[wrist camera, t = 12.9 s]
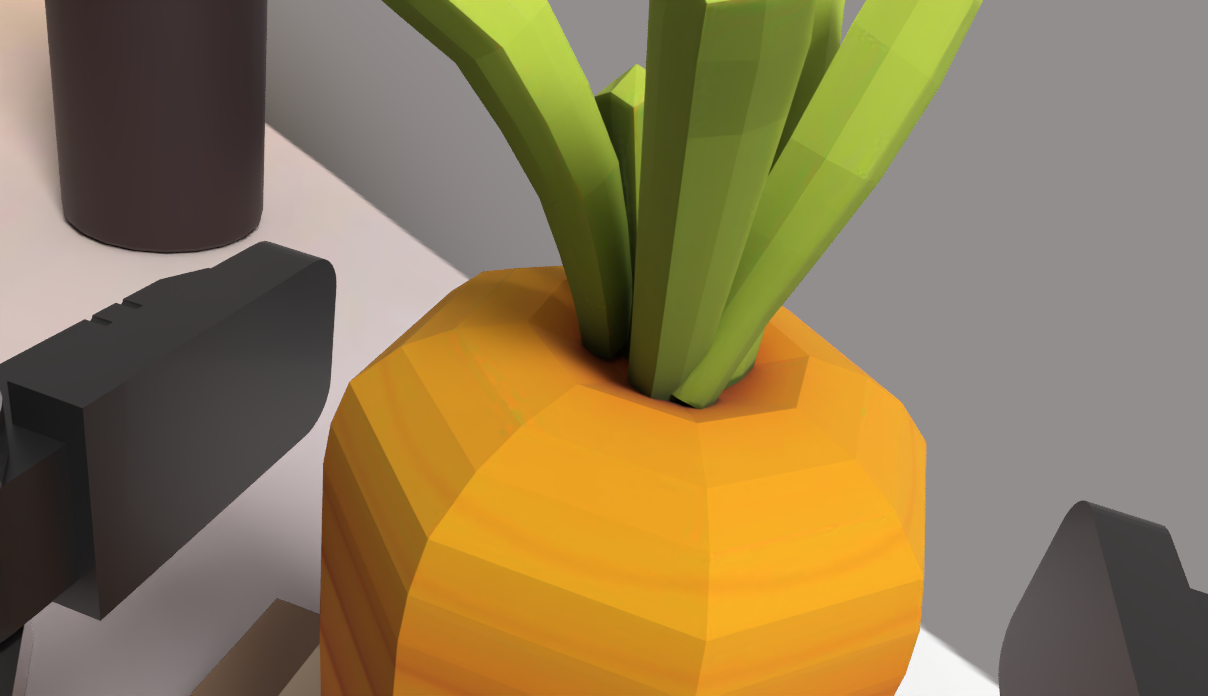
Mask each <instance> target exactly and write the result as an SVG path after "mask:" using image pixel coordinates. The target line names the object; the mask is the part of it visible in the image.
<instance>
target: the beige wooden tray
mask: <svg viewBox="0 0 1208 696" xmlns="http://www.w3.org/2000/svg"><path fill="white" fill-rule="evenodd" d="M190 696H321V678H320V614H317V613H315V612H312V611H309V610H307V609H304V608H302V607H299V606H296V605H294V604H291V603H289V602H286V601H283V600H281V599H278V598H277V599H276V600H275V601H274V602H273V603H272V605H271V606H270V607H269V608H268V609H267V610H266V611H265V612H264V613H263V615H262V616H261V617H260V618H259V619H258V620H257V621H256V622H255V623H254V625H253V626H252V627H251V628H250V629H249V630H248V631H247V632H246V633H245V635H244V636H243V637H242V638H241V639H240V640H239V641H238V642H237V643H236V645H235V646H234V647H233V648H232V649H231V650H230V651H229V652H228V653H227V655H226V656H225V657H224V658H223V659H222V660H221V661H220V662H219V663H218V665H217V666H216V667H215V668H214V669H213V670H212V671H211V672H210V674H209V675H208V676H207V677H206V678H205V679H204V680H203V681H202V682H201V684H200V685H199V686H198V687H197V688H196V689H195V690H194V691H193V692H192V694H191V695H190Z"/></svg>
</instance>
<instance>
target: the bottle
mask: <svg viewBox="0 0 1208 696" xmlns="http://www.w3.org/2000/svg"><path fill="white" fill-rule="evenodd" d="M45 8H46V19H47V31H48V43H49V55H50V66H51V78H52V90H53V102H54V114H55V125H56V137H57V149H58V161H59V172H60V184H61V196H62V204H63V209H64V213H65V216H66V218H67V220H68V221H69V222H70V223H71V224H73V225H74V226H75V227H76V228H77V229H78V230H79V231H81V232H82V233H84V234H85V235H87V236H90V237H92V238H94V239H97V240H99V241H102V242H104V243H106V244H110V245H115V246H119V247H124V248H128V249H133V250H141V251H153V252H188V251H199V250H205V249H210V248H216V247H221V246H224V245H227V244H229V243H232V242H234V241H237V240H239V239H242V238H243V237H245V236H246V235H247V234H249V233H250V232H251V231H252V230H253V229H255V228H256V227H257V226H258V225H259V222H260V219H261V215H262V211H263V186H264V137H265V88H266V86H265V85H266V40H267V38H266V37H267V0H45Z"/></svg>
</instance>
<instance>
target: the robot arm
mask: <svg viewBox="0 0 1208 696" xmlns="http://www.w3.org/2000/svg"><path fill="white" fill-rule="evenodd" d="M335 300H336V274H335V270H334V268H333V266H332V264H331V263H330V262H329V261H327V260H325V259H322V258H319V257H316V256H313V255H309V254H306V253H303V252H300V251H297V250H294V249H290V248H287V247H284V246H281V245H278V244H274V243H271V242H267V241H263V242H259V243H257V244H255V245H253V246H251V247H249V248H247V249H245V250H244V251H242V252H240V253H238V254H236V255H235V256H233V257H231V258H229V259H227V260H225V261H224V262H222V263H220V264H218V265H216V266H215V267H213V268H211V269H210V268H206V269H202V270H198V271H194V272H189V273H185V274H181V275H177V276H173V277H168V278H164V279H160V280H158V281H156V282H154V283H152V284H151V285H149V286H147V287H145V288H143V289H141V290H139V291H137V292H135V293H134V294H132V295H130V296H128V297H126V298H124V299H123V302H122V304H118V303H115V304H113V305H111V306H109V307H107V308H105V309H103V310H101V311H99V312H98V313H96V314H94V315H93V316H92V319H91V321H88V320H85V319H84V320H82V321H81V322H79V323H77V324H75V325H73V326H71V327H69V328H67V329H65V330H63V331H62V332H60V333H58V334H56V335H54V336H52V337H50V338H48V339H46V340H45V341H43V342H41V343H39V344H37V345H35V346H33V347H31V348H29V349H28V350H26V351H24V352H22V353H20V354H18V355H16V356H14V357H12V358H10V359H9V360H7V361H5V362H3V363H1V364H0V696H25V691H26V685H27V679H28V672H29V666H30V660H31V653H32V647H33V630H32V623H31V619H32V618H33V617H34V616H35V615H37V614H38V613H39V612H40V611H41V610H43V609H44V608H45V607H46V606H47V605H49V604H50V603H51V602H52V601H53V602H55V603H58V604H60V605H63V606H65V607H68V608H70V609H73V610H75V611H78V612H80V613H83V614H85V615H88V616H90V617H93V618H95V619H97V620H100V621H101V620H102V619H103V618H104V617H105V616H106V615H107V614H109V613H110V612H111V611H112V610H113V609H114V608H115V607H116V606H117V605H118V604H120V603H121V602H122V601H123V600H124V599H125V598H126V597H127V596H128V595H130V594H131V593H132V592H133V591H134V590H135V589H136V588H137V587H138V586H140V585H141V584H142V583H143V582H144V581H145V580H146V579H147V578H148V577H150V576H151V575H152V574H153V573H154V572H155V571H156V570H157V569H158V568H159V567H161V566H162V565H163V564H164V563H165V562H166V561H167V560H168V559H169V558H171V557H172V556H173V555H174V554H175V553H176V552H177V551H178V550H179V549H181V548H182V547H183V546H184V545H185V544H186V543H187V542H188V541H189V540H191V539H192V538H193V537H194V536H195V535H196V534H197V533H198V532H199V531H200V530H202V529H203V528H204V527H205V526H206V525H207V524H208V523H209V522H210V521H212V520H213V519H214V518H215V517H216V516H217V515H218V514H219V513H220V512H222V511H223V510H224V509H225V508H226V507H227V506H228V505H229V504H230V503H232V502H233V501H234V500H235V499H236V498H237V497H238V496H239V495H240V494H241V493H243V492H244V491H245V490H246V489H247V488H248V487H249V486H250V485H251V484H253V483H254V482H255V481H256V480H257V479H258V478H259V477H260V476H261V475H263V474H264V473H265V472H266V471H267V470H268V469H269V468H270V467H271V466H273V465H274V464H275V463H276V462H277V461H278V460H279V459H280V458H281V457H282V456H284V455H285V454H286V453H287V452H288V451H289V450H290V449H291V448H292V447H294V446H295V445H296V444H297V443H298V442H299V441H300V440H301V439H302V438H304V437H305V436H306V435H307V434H308V433H309V432H310V430H311V429H312V428H313V426H314V425H315V423H316V422H317V420H318V418H319V417H320V415H321V413H322V410H323V408H324V406H325V403H326V400H327V396H328V393H329V388H330V380H331V365H332V349H333V333H334V316H335ZM999 689H1000V696H1208V594H1206V593H1203V592H1200V591H1197V590H1194V589H1191V588H1190V587H1189V584H1188V581H1187V579H1186V576H1185V573H1184V570H1183V568H1182V565H1181V562H1180V560H1179V557H1178V554H1177V551H1176V549H1175V546H1174V543H1173V540H1172V538H1171V535H1170V533H1169V531H1168V530H1167V529H1166V527H1165V526H1163V525H1160V524H1157V523H1154V522H1151V521H1148V520H1144V519H1141V518H1138V517H1135V516H1132V515H1128V514H1125V513H1122V512H1119V511H1116V510H1113V509H1110V508H1106V507H1103V506H1100V505H1097V504H1094V503H1090V502H1087V501H1079V502H1077V503H1076V504H1075V505H1074V506H1073V507H1072V508H1071V509H1070V510H1069V512H1068V513H1067V514H1066V516H1065V518H1064V520H1063V521H1062V523H1061V525H1060V527H1059V529H1058V531H1057V533H1056V535H1055V536H1054V538H1053V540H1052V542H1051V544H1050V546H1049V548H1048V550H1047V552H1046V553H1045V555H1044V557H1043V559H1042V561H1041V563H1040V565H1039V567H1038V569H1037V570H1036V572H1035V574H1034V576H1033V578H1032V580H1031V582H1030V584H1029V586H1028V587H1027V589H1026V591H1025V593H1024V595H1023V597H1022V599H1021V601H1020V603H1019V605H1018V606H1017V608H1016V610H1015V612H1014V614H1013V616H1012V618H1011V620H1010V623H1009V626H1008V628H1007V631H1006V634H1005V638H1004V642H1003V645H1002V650H1001V655H1000V662H999Z"/></svg>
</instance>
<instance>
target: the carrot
mask: <svg viewBox="0 0 1208 696" xmlns="http://www.w3.org/2000/svg"><path fill="white" fill-rule="evenodd" d="M382 1H383V2H384V3H385V4H386V5H388V6H389V7H390V8H391V9H392V10H393V11H394V12H396V13H397V14H398V15H399V16H400V17H402V18H403V19H404V20H405V21H406V22H407V23H409V24H410V25H411V26H412V27H414V28H415V29H416V30H417V31H418V32H419V33H421V34H422V35H423V36H424V37H425V38H426V39H428V40H429V41H430V42H431V43H433V44H434V45H435V46H436V47H437V48H438V49H440V50H441V51H442V52H443V53H444V54H446V55H447V56H448V57H449V58H450V59H451V60H453V61H454V62H455V63H456V64H457V66H458V67H459V69H460V70H461V72H462V73H463V75H464V76H465V78H466V79H467V81H468V82H469V84H470V85H471V87H472V88H473V90H474V91H475V93H476V94H477V95H478V97H479V98H480V100H481V101H482V103H483V104H484V106H485V107H486V109H487V110H488V112H489V113H490V115H491V116H492V118H493V119H494V121H495V122H496V124H497V125H498V127H499V128H500V130H501V131H502V133H503V135H504V137H505V138H506V140H507V142H508V143H509V145H510V147H511V149H512V151H513V152H514V154H515V156H516V158H517V159H518V161H519V163H520V165H521V166H522V168H523V170H524V172H525V173H526V175H527V177H528V179H529V181H530V182H531V184H532V186H533V187H534V189H535V191H536V193H537V194H538V196H539V198H540V201H541V204H542V206H543V209H544V212H545V215H546V218H547V220H548V223H549V226H550V229H551V231H552V234H553V237H554V240H555V242H556V245H557V248H558V251H559V254H560V257H561V260H562V264H563V266H549V267H533V268H514V269H505V270H494V271H485V272H482V273H480V274H478V275H477V276H475V277H474V278H472V279H470V280H469V281H467V282H466V283H464V284H462V285H461V286H459V287H458V288H456V289H454V290H453V291H451V292H450V293H449V294H448V295H447V296H446V297H444V298H443V299H442V300H441V301H440V302H439V303H438V304H437V305H435V306H434V307H433V308H432V309H431V310H430V311H429V312H428V313H426V314H425V315H424V316H423V317H422V318H421V319H420V320H419V321H417V322H416V323H415V324H414V325H413V326H412V327H411V328H410V329H408V330H407V331H406V332H405V333H404V334H403V335H402V336H401V337H399V338H398V339H397V340H396V341H395V342H394V343H393V344H392V345H391V346H389V347H388V348H387V349H386V350H385V351H384V352H383V353H382V354H380V355H379V356H378V357H377V358H376V359H375V360H374V361H373V362H371V363H370V364H369V365H368V366H367V367H366V368H365V369H364V370H362V371H361V372H360V373H359V374H358V375H357V376H356V377H355V378H353V379H352V380H351V381H350V382H349V384H348V386H347V389H346V391H345V393H344V395H343V398H342V400H341V402H340V404H339V407H338V409H337V411H336V413H335V415H334V418H333V420H332V422H331V426H330V431H329V436H328V442H327V447H326V452H325V458H324V463H323V500H322V546H321V592H320V678H321V696H894V695H895V693H896V691H897V689H898V687H899V685H900V683H901V681H902V679H903V678H904V676H905V674H906V671H907V668H908V665H909V662H910V659H911V656H912V653H913V650H914V647H915V643H916V640H917V637H918V634H919V631H920V622H921V609H922V596H923V585H924V549H925V544H924V543H925V490H926V441H925V440H924V438H923V437H922V435H921V433H920V432H919V430H918V429H917V427H916V425H915V423H914V422H913V420H912V419H911V417H910V415H909V414H908V412H907V410H906V409H905V407H904V405H903V404H902V402H900V401H899V400H898V399H897V398H896V397H894V396H893V395H892V394H891V393H889V392H888V391H887V390H886V389H885V388H883V387H882V386H881V385H880V384H878V383H877V382H876V381H875V380H873V379H872V378H871V377H870V376H869V375H867V374H866V373H865V372H864V371H862V370H861V369H860V368H859V367H858V366H856V365H855V364H854V363H853V362H851V361H850V360H849V359H848V358H847V357H845V356H844V355H843V354H842V353H841V352H839V351H838V350H837V349H836V348H834V347H833V346H832V345H831V344H829V343H828V342H827V341H826V340H825V339H823V338H822V337H821V336H820V335H818V334H817V333H816V332H815V331H814V330H812V329H811V328H810V327H809V326H807V325H806V324H805V323H804V322H803V321H801V320H800V319H799V318H798V317H796V316H795V315H794V314H793V313H791V312H790V311H789V310H787V309H786V308H784V307H783V306H782V305H783V303H784V302H785V301H786V300H787V298H788V297H789V296H790V295H791V293H792V292H793V291H794V290H795V288H796V287H797V286H798V285H799V283H800V282H801V281H802V280H803V278H804V277H805V276H806V275H807V273H808V272H809V271H810V269H811V268H812V267H813V266H814V265H815V263H816V262H817V261H818V260H819V258H820V257H821V256H822V255H823V253H824V252H825V251H826V249H827V248H828V247H829V245H830V244H831V243H832V242H833V240H834V239H835V238H836V237H837V235H838V234H839V233H840V231H841V230H842V229H843V228H844V226H845V225H846V223H847V222H848V221H849V220H850V218H851V217H852V216H853V215H854V213H855V212H856V211H857V209H858V208H859V207H860V206H861V204H862V203H863V202H864V200H865V199H866V198H867V196H868V195H869V194H870V193H871V192H872V190H873V189H874V188H875V186H876V185H877V184H878V182H879V181H880V180H881V178H882V177H883V175H884V173H885V172H886V170H887V169H888V167H889V166H890V164H891V162H892V161H893V159H894V158H895V156H896V154H897V153H898V151H899V150H900V148H901V147H902V145H903V143H904V142H905V140H906V139H907V137H908V136H909V134H910V132H911V131H912V129H913V128H914V126H915V125H916V123H917V122H918V120H919V118H920V117H921V115H922V114H923V112H924V111H925V109H926V107H927V106H928V104H929V103H930V101H931V99H932V98H933V96H934V95H935V93H936V92H937V90H938V89H939V87H940V85H941V83H942V81H943V79H944V77H945V75H946V73H947V71H948V69H949V67H950V65H951V63H952V61H953V59H954V57H955V55H956V53H957V51H958V49H959V47H960V45H961V43H962V41H963V39H964V36H965V35H966V33H967V31H968V29H969V27H970V25H971V23H972V21H973V19H974V17H975V15H976V13H977V11H978V9H979V7H980V5H981V3H982V1H983V0H866V2H865V3H864V5H863V7H862V9H861V10H860V12H859V13H858V15H857V17H856V18H855V20H854V22H853V24H852V25H851V27H850V29H849V31H848V33H847V35H846V37H845V39H844V40H843V42H842V44H841V46H840V39H841V30H842V21H843V12H844V4H845V0H650V1H649V20H648V40H647V59H646V69H644V68H642V67H641V66H639V65H637V64H636V65H634V66H633V67H632V68H630V69H629V70H628V71H627V72H625V73H624V74H623V75H621V76H620V77H619V78H617V79H616V80H615V81H613V82H612V83H611V84H610V85H608V86H607V87H606V88H605V89H603V90H602V91H601V92H600V93H599V94H597V95H596V96H595V99H594V96H593V93H592V91H591V88H590V86H589V83H588V81H587V79H586V77H585V75H584V73H583V71H582V69H581V67H580V65H579V63H578V61H577V59H576V57H575V55H574V53H573V51H572V49H571V47H570V45H569V43H568V41H567V39H566V37H565V35H564V33H563V31H562V29H561V27H560V25H559V23H558V21H557V19H556V17H555V15H554V13H553V11H552V9H551V7H550V5H549V3H548V1H547V0H382Z"/></svg>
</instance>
